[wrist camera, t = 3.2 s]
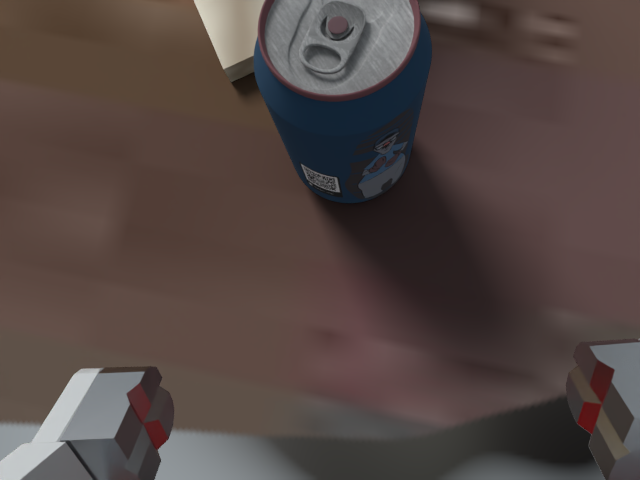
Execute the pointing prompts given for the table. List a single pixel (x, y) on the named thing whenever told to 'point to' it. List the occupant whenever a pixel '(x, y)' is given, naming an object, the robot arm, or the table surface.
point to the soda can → (344, 89)
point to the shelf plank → (232, 32)
